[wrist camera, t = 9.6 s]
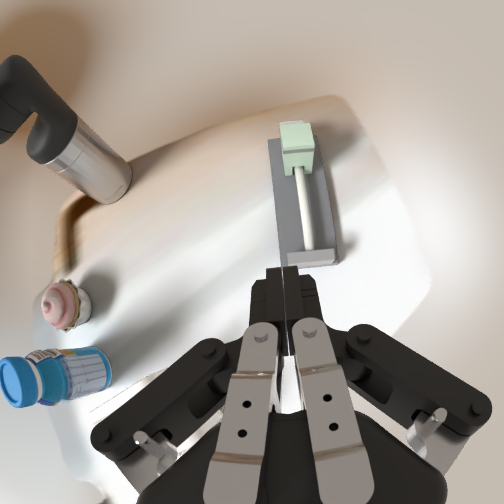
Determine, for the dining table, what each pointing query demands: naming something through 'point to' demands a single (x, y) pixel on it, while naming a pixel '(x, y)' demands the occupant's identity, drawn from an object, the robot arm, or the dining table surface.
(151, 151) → the dining table surface
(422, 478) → the robot arm
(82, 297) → the cupcake
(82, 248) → the dining table surface
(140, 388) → the white plastic stand
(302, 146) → the notched mint block
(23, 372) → the beverage bottle
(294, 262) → the grey slide rail
